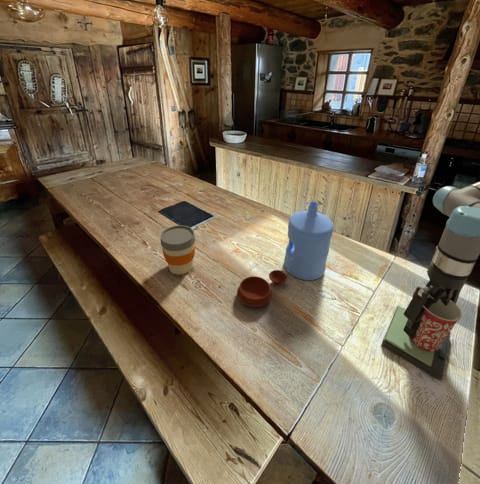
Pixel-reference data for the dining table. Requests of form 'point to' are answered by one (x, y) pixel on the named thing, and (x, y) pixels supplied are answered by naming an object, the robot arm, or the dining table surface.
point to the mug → (436, 325)
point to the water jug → (308, 243)
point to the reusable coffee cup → (178, 248)
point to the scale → (414, 347)
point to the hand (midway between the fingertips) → (420, 329)
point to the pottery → (259, 289)
